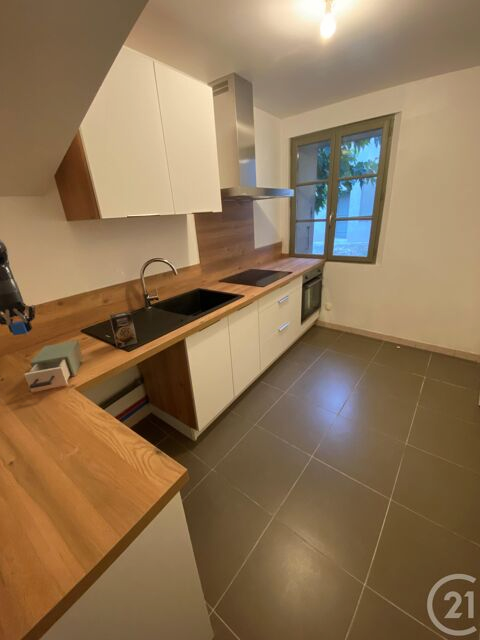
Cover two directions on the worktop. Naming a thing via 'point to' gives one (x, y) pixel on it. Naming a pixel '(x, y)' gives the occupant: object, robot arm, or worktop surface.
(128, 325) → the coffee box
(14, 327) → the blue cube
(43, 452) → the worktop surface
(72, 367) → the grey-green drawer cabinet
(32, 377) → the dispenser drawer
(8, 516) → the worktop surface
